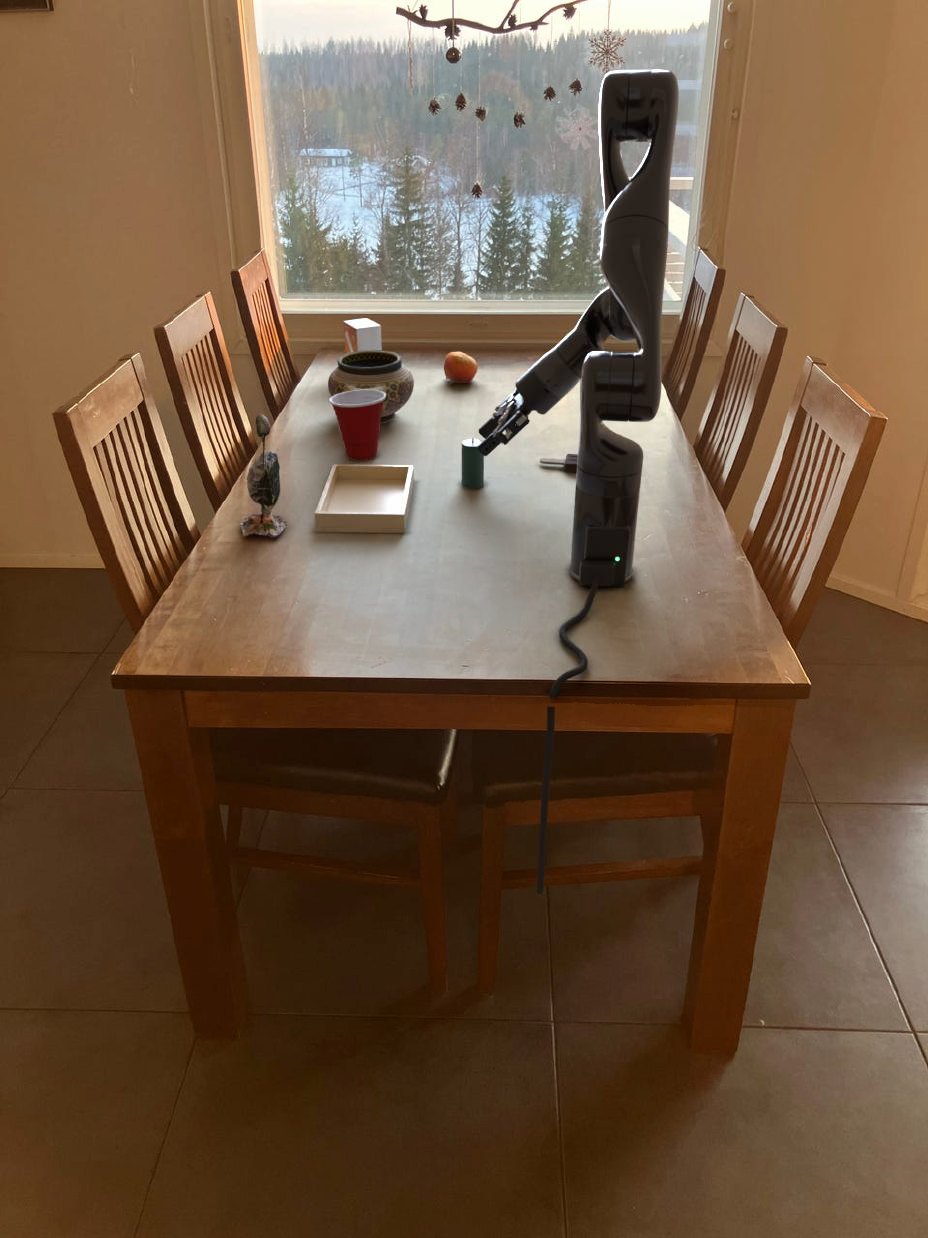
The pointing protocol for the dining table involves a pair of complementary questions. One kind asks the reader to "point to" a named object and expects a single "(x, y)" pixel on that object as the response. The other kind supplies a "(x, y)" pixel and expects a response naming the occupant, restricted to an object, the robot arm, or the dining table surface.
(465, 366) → the fruit
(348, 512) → the wooden tray
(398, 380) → the ceramic bowl
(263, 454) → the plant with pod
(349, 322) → the small box
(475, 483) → the green candle
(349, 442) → the plastic cup
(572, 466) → the ice cream bar
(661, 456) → the dining table surface
